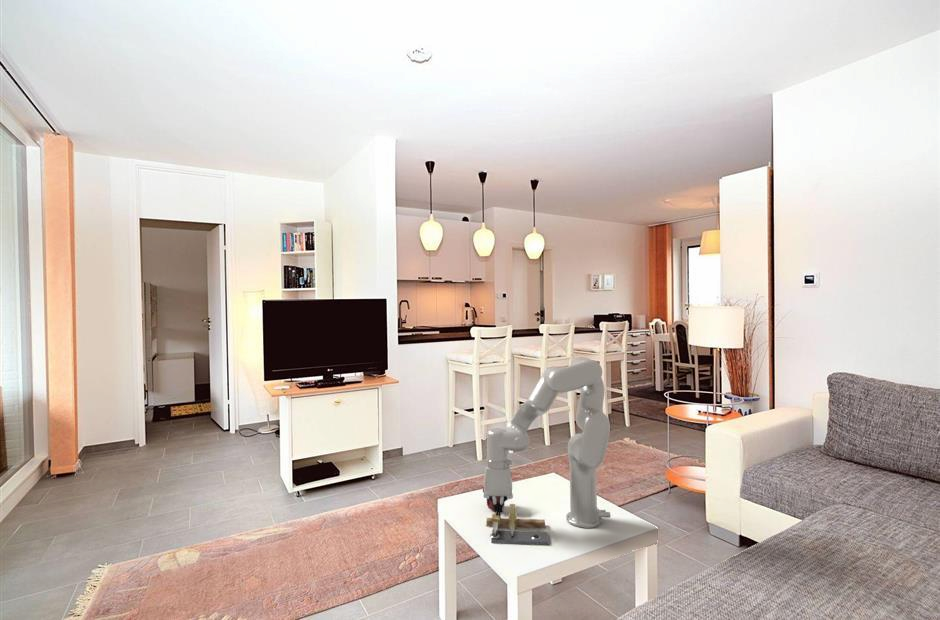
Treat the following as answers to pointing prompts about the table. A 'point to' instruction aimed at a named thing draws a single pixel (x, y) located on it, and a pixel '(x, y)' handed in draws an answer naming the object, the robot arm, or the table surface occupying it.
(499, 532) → the hole plate
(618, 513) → the table surface
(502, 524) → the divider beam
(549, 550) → the table surface
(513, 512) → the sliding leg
